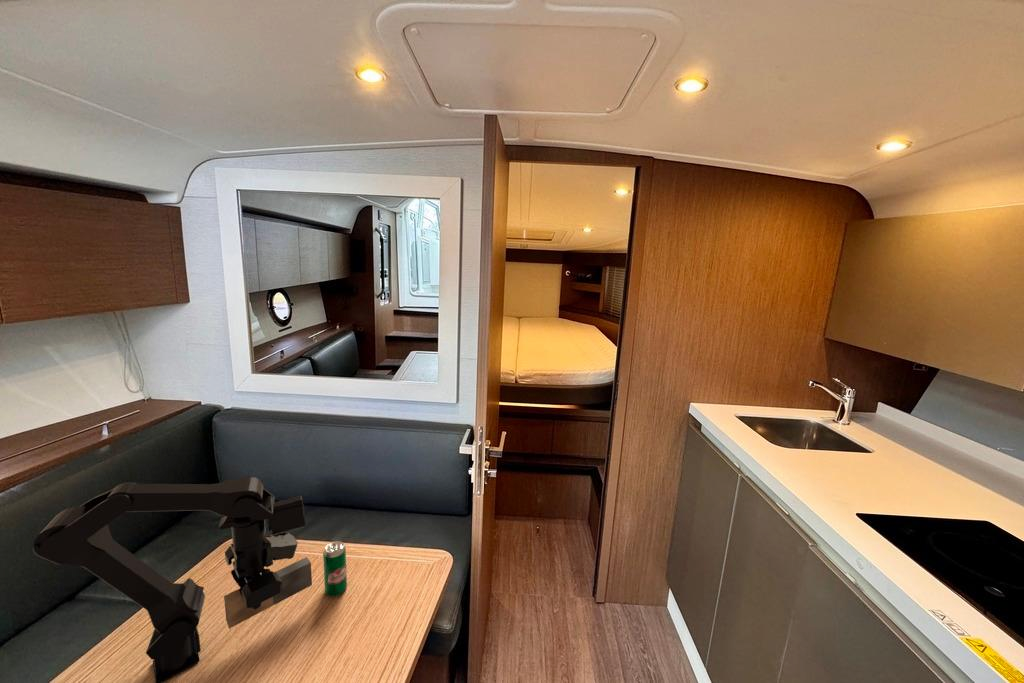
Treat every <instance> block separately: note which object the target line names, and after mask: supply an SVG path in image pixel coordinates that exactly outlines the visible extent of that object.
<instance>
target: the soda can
mask: <svg viewBox="0 0 1024 683" xmlns="http://www.w3.org/2000/svg"><path fill="white" fill-rule="evenodd" d="M322 558H323V559H322V560H323V561H322V563H323V580H324V593H325V595H327V596H329V597H336V596H339V595H342V593H343V592H344V591H345V590H347V586H348V577H347V576H348V575H347V573H348V571H347V550H346V545H345V543H344V542H342V541H340V540H336V541H332V542H330V543H328V544H327V545H326V546H325V547H324V551H323V552H322Z"/></svg>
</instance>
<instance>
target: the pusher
mask: <svg viewBox="0 0 1024 683" xmlns="http://www.w3.org/2000/svg"><path fill="white" fill-rule="evenodd" d="M275 572H276V573H277V574H278V576H279V577H280V579H281V581H282V587H283V590H282V591H281V593H279V594H277V595H275V596H273V597H271V598H269V599H267V600H265V601H263V602H262V603H261V606H260V607H259V608H257V609H255V610H254V609H253V608H247V607H246V605H245V603H244V600H243V598H242V596H241V594H240V592H239V590H238V589H235V590H234V591H231V592H230V593H227V594H225V595H224V596H223V600H224V609H225V620H226V624H227V626H228V628H229V629H232V628H233V627H236V626H237V625H239V624H241V623H243V622H245V621H247V620H248V619H250V618H252V617H255V616H256V615H258V614H259V613H262V612H263V611H266V610H268V609H269V608H271V607H273V606H275V605H278V604H279V603H281V602H283V601H284V600H286V599H288V598H291V597H292V596H294V595H296V594H298V593H300V592H302V591H303V590H306V589H307V588H309V587H311V586H312V585H313V579H312V563H311V561H310V559H309V558H308V556H306V557H303V558H301V559H299V560H297V561H295V562H293V563H291V564H288V565H286V566H284V567H282V568H280V569H278V570H276V571H275Z"/></svg>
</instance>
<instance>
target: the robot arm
mask: <svg viewBox="0 0 1024 683" xmlns="http://www.w3.org/2000/svg"><path fill="white" fill-rule="evenodd" d="M304 506H305V504H304V502H303V496H302V495H297V496H294V497H292V498H287V499H282V500H279V501H275V495H273V494H272V493H271V492H270V491H268V490H267V489H266V488H265V487H264V484H263V483H262V481H261V480H260V479H259V478H258V477H255V476H245V477H238V478H231V479H228V480H223V481H222V482H218V483H209V484H208V483H201V484H199V483H137V482H135V481H134V482H133V481H127V482H122V483H120V484H118V485H116V486H115V487H113V488H112V489H111V490H108V491H105V492H104V493H101V494H98V495H96V496H94V497H93V498H91V499H89V500H88V501H86V502H84V503H82V504H81V505H79V506H72V507H68V508H65V509H64V510H61V511H60V512H59V513H58V514H56V516H54V517H53V519H52V520H51V521H50V522H49V523H47V525H46V526H45V528H43V529H42V530H41V532H40V533H39V534H37V536H36V538H35V539H34V540H33V546H32V551H33V553H34V554H35V555H36V556H38V557H40V558H42V559H43V560H47V561H49V562H51V563H53V564H57V565H58V566H69V567H70V566H71V567H72V566H73V567H82V568H84V569H85V570H87V571H89V572H90V573H92V575H94V576H96V577H98V578H99V579H100V580H102V581H103V582H105V583H106V584H107V585H109V586H110V587H112V588H114V589H115V590H117V591H118V592H119V593H121V594H123V596H125V597H127V598H129V600H131V601H133V602H134V603H136V604H137V605H139V606H140V607H141V608H142V609H145V610H146V611H147V613H148V615H149V616H148V617H149V619H150V621H151V624H152V627H153V628H154V629H153V632H152V636H151V638H150V641H149V643H148V646H147V648H146V651H145V654H146V655H147V656H148V657H149V659H151V660H152V667H153V672H154V674H153V675H154V679H155V683H165V682H166V681H168V680H169V679H171V678H172V679H173V677H175V676H177V675H179V674H181V673H182V672H184V671H186V670H189V669H191V668H192V667H193V666H194V665H197V664H198V663H199V662H200V656H199V653H200V652H201V642H200V634H199V630H198V626H199V623H200V620H201V616H202V615H201V614H202V612H203V607H204V602H205V598H206V594H205V593H204V589H205V586H201V585H198V584H197V583H196V582H195V581H194V580H193V579H192V578H187V579H186V580H185V581H184V582H183V583H180V582H179V583H175V582H174V583H173V582H171V581H170V580H168V579H167V578H166V577H164V576H163V575H162V574H160V573H159V572H158V571H156V570H155V569H153V567H151V566H149V565H148V564H147V563H146V562H144V561H143V560H141V559H140V558H139V557H137V556H136V555H134V554H133V553H132V552H131V551H129V550H128V549H127V548H125V547H124V546H122V544H119V543H118V542H117V541H116V540H114V539H113V537H112V534H111V531H110V528H109V526H108V524H109V523H111V522H112V521H113V520H114V519H116V518H118V517H120V516H121V515H122V514H124V513H137V512H138V513H139V512H140V513H141V512H142V513H143V512H146V513H147V512H185V511H186V512H188V511H189V512H190V511H192V512H193V511H195V512H196V511H203V512H204V511H205V512H211V513H214V514H216V515H218V516H222V517H221V519H220V521H219V525H218V530H219V531H221V530H226V529H231V537H232V543H231V544H230V546H229V547H228V548H227V549H226V550H225V551H224V559H225V562H226V564H227V566H231V565H232V567H233V569H231V571H230V574H231V576H232V578H233V580H234V581H235V583H236V584H237V586H238V587H239V588H238V589H237V590H239V592H240V594H241V596H242V598H243V600H244V603H245V605H246V607H247V608H253V609H254V610H255V609H257V608H259V607H260V606H261V603H262V602H263V601H265V600H267V599H269V598H271V597H273V596H275V595H277V594H279V593H281V591H282V590H283V587H282V581H281V579H280V577H279V576H278V574H277V573H276V571H272V570H271V569H270V568H268V567H271V566H273V565H274V561H280V560H286V559H287V560H291V559H293V558H294V556H295V554H296V552H297V551H296V550H297V547H298V545H299V542H298V540H297V539H296V538H295V536H294V535H293V534H291V533H290V532H291V531H295V530H299V529H303V528H306V518H305V507H304ZM266 520H268V522H267V524H268V532H271V534H270V535H269V537H267V530H266ZM265 567H266V568H265Z"/></svg>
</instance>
